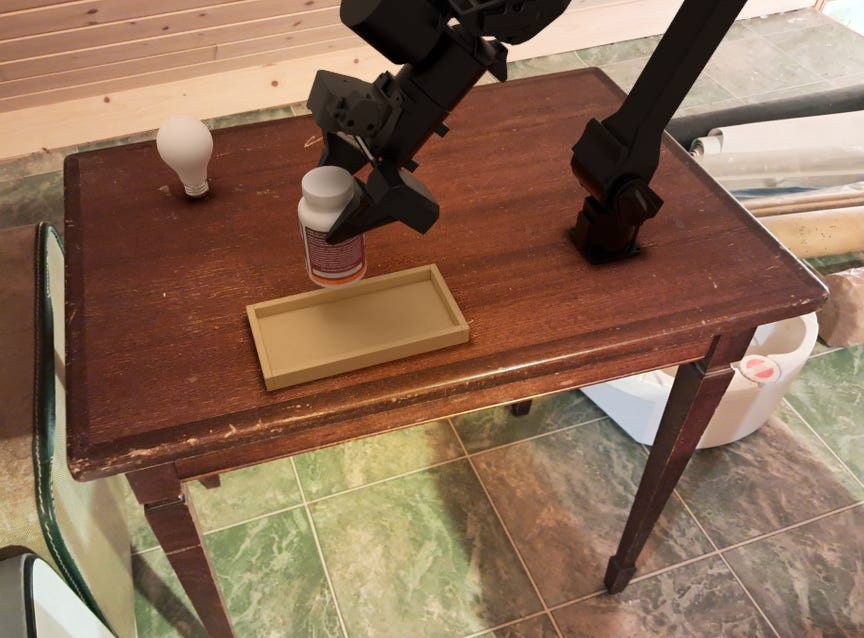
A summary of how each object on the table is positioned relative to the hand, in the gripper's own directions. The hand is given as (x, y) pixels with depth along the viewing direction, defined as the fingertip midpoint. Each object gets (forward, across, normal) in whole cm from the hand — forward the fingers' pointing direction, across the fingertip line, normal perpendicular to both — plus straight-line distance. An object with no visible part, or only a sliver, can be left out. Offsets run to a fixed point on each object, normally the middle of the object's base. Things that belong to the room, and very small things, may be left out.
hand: (317, 222), depth 69 cm
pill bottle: (+4, 0, +6) cm, 7 cm away
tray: (+8, +3, +11) cm, 14 cm away
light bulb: (+16, -27, +3) cm, 32 cm away
